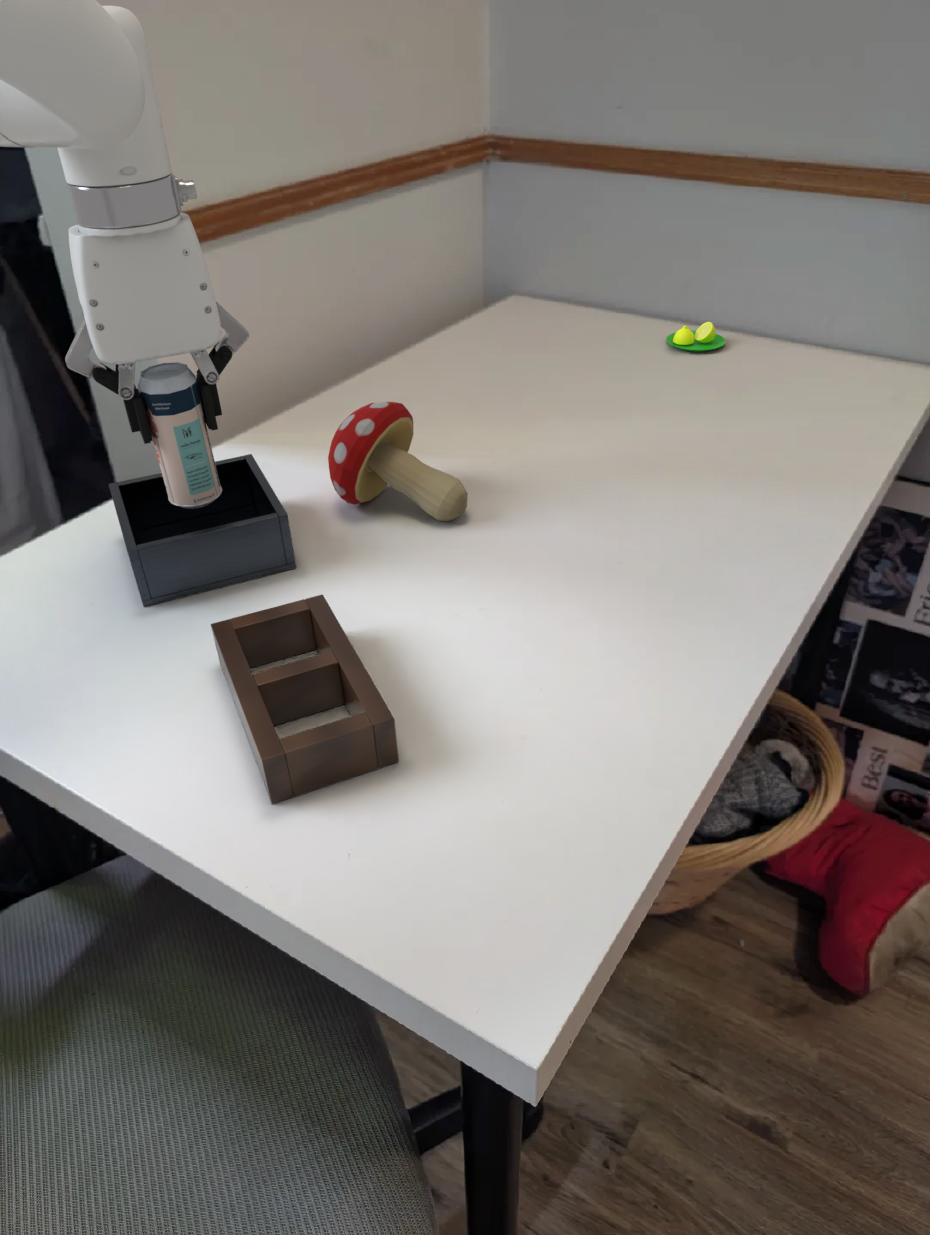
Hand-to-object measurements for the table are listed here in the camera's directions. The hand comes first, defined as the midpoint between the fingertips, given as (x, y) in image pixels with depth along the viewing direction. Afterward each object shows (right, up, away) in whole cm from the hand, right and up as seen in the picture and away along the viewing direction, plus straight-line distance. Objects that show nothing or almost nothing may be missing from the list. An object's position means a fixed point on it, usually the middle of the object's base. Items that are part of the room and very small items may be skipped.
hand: (178, 428), depth 79 cm
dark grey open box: (0, -10, +7) cm, 12 cm away
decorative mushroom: (+19, -5, +14) cm, 24 cm away
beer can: (0, -6, +4) cm, 7 cm away
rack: (+13, -23, -12) cm, 29 cm away
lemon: (+56, +21, +48) cm, 77 cm away
